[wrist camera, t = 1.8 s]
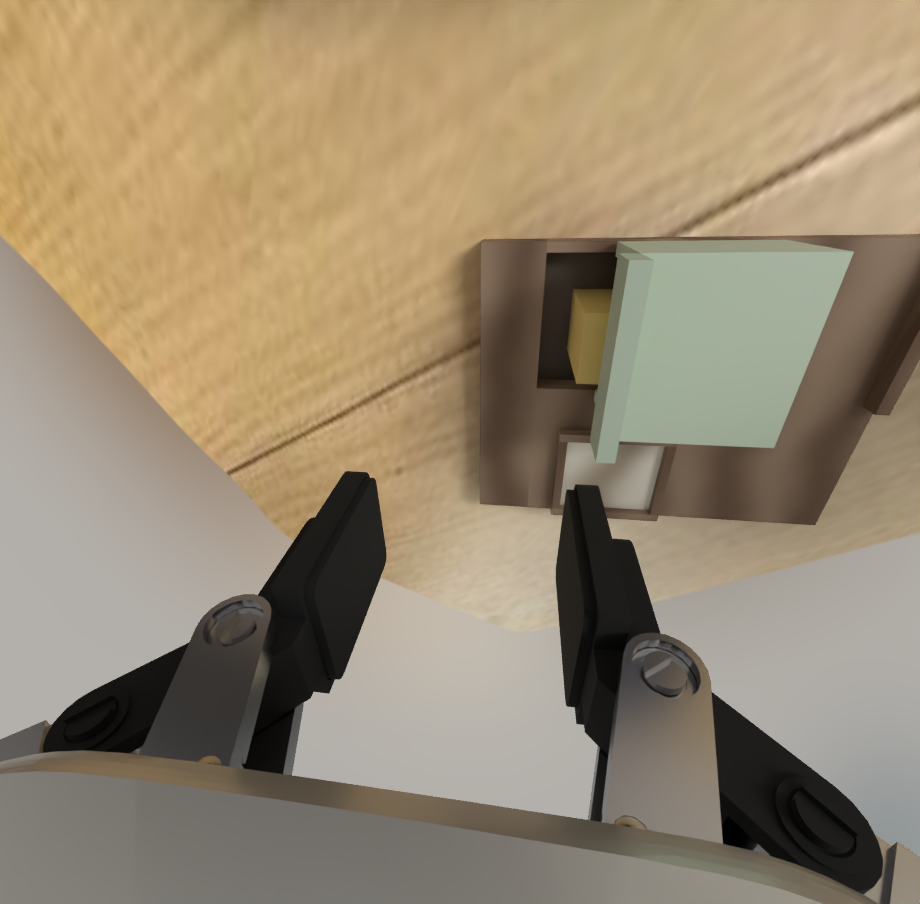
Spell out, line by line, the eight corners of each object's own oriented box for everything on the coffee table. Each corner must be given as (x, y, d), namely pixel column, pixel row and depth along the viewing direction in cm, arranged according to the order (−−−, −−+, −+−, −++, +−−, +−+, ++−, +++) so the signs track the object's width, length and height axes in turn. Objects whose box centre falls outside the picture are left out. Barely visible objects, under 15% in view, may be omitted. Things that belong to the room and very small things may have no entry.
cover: (785, 239, 24) (895, 258, 17) (731, 404, 29) (798, 472, 22) (599, 241, 25) (629, 260, 18) (579, 399, 30) (595, 462, 23)
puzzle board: (934, 234, 25) (984, 239, 22) (800, 509, 35) (824, 535, 32) (483, 239, 28) (479, 244, 25) (481, 490, 38) (478, 512, 35)
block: (635, 289, 28) (664, 313, 22) (625, 349, 30) (648, 385, 24) (573, 288, 29) (585, 312, 23) (566, 348, 31) (576, 383, 25)
